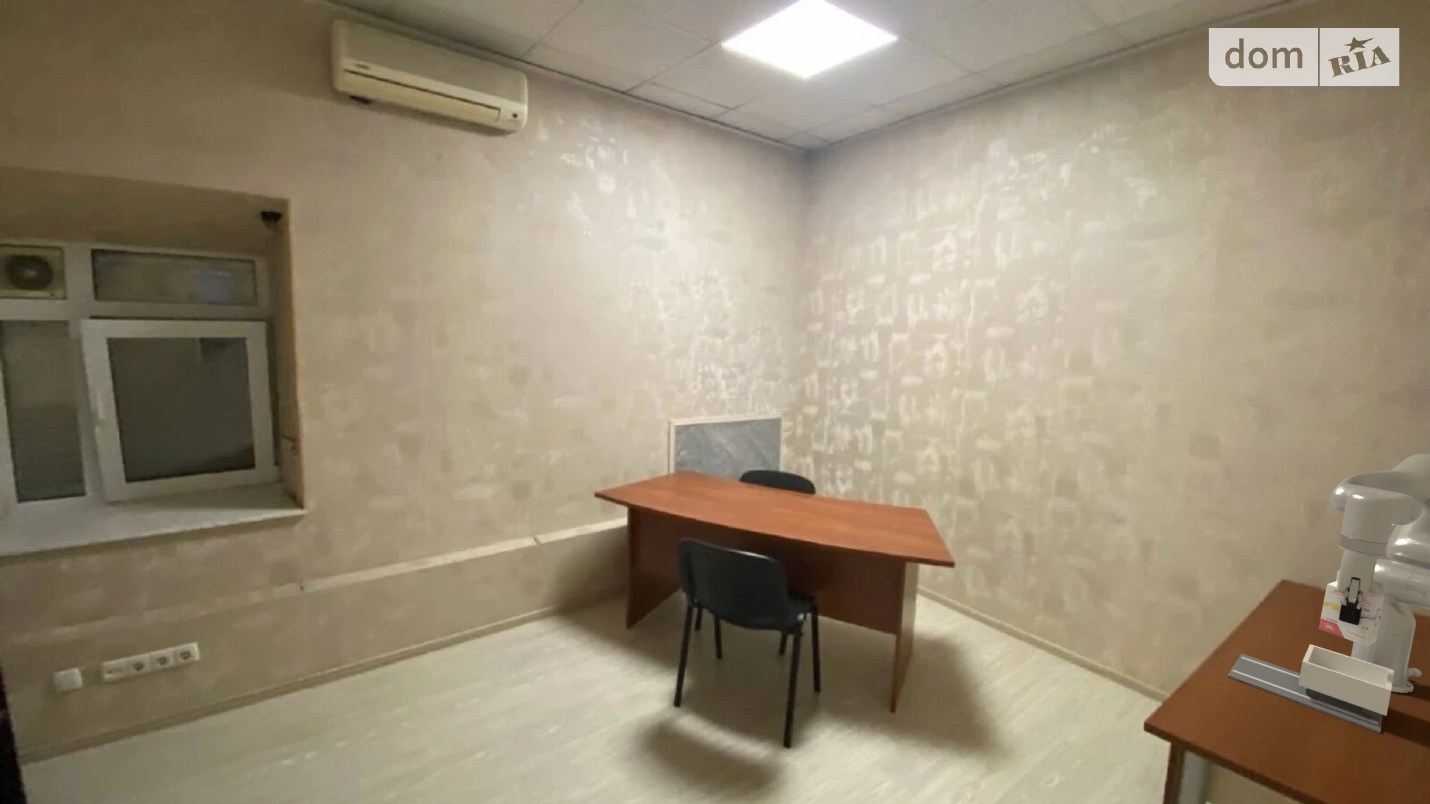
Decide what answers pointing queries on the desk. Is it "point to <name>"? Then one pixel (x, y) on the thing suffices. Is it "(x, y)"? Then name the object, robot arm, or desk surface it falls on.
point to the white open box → (1347, 680)
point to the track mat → (1297, 690)
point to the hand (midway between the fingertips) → (1349, 617)
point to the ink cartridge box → (1368, 619)
